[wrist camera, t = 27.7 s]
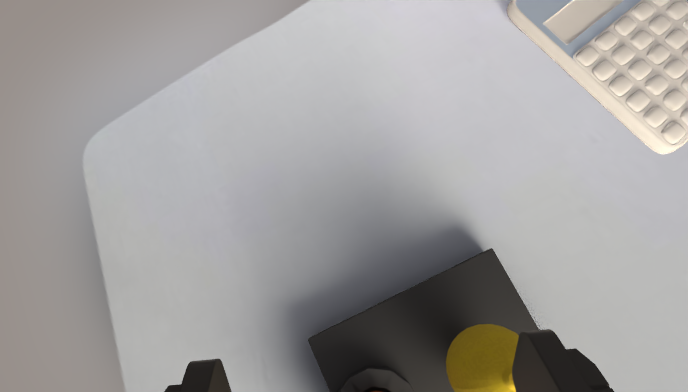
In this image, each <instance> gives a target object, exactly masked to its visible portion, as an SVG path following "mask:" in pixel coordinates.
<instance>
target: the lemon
mask: <svg viewBox="0 0 688 392" xmlns="http://www.w3.org/2000/svg"><path fill="white" fill-rule="evenodd" d="M518 338H519V335H518V334H517V333H515V332H513V331H511V330H509V329H507V328H505V327H503V326H498V325H493V324H478V325H475V326H472V327H469V328H467V329H465V330H464V331H462V332H461V333H459V334H458V335H457V336H456V338H455V339H454V340H453V341H452V343H451V345H450V347H449V349H448V352H447V358H446V371H447V375H448V378H449V382H450V384H451V386H452V388H453V390H454V392H516V389H515V386H514V382H513V377H512V366H513V361H514V357H515V352H516V347H517V342H518Z"/></svg>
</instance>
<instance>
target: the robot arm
mask: <svg viewBox="0 0 688 392" xmlns="http://www.w3.org/2000/svg"><path fill="white" fill-rule="evenodd" d="M512 377H513V382H514V386H515V389H516V392H614V391H613V389H612V388H611V389H610V387H609V384H608V382H607V381H606V379H605V378H604V377H603V375H602V374H601V372H600V371H599V369H598V368H597V366H596V365H595V364H594V363H593V362H591V361H590V360H589V359H588V358H587V357H585V356H584V355H583V354H582V353H581V352H579V351H578V350H577V349H565V347H564V346H563V344H562V343H561V341H560V340H559V338H558V337H557V335H556V334H555V333H554V332H553V331H552V330H550V329H547V330H536V331H525V332H521V333H520V334H519V338H518V342H517V347H516V352H515V357H514V361H513V366H512ZM164 392H231V389H230V386H229V383H228V380H227V376H226V373H225V370H224V367H223V364H222V361H221V360H220V359H212V360H201V361H192V362H190V363H189V364H188V366H187V369H186V372H185V375H184V378H183V381H182V384H181V385H170V386H168V387H167V389H166V390H165V391H164Z"/></svg>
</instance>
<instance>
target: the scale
mask: <svg viewBox="0 0 688 392" xmlns="http://www.w3.org/2000/svg"><path fill="white" fill-rule="evenodd" d="M478 324H493V325H498V326H503V327H505V328H507V329H509V330H511V331H513V332H515V333H517V334H518V335H519V334H520V333H521V332H525V331H536V330H539V329H538V327H537V326H536V324H535V322H534V320H533V319H532V317H531V315H530V313H529V312H528V310H527V308H526V306H525V305H524V303H523V301H522V299H521V298H520V296H519V294H518V292H517V291H516V289H515V287H514V285H513V284H512V282H511V280H510V278H509V277H508V275H507V273H506V271H505V270H504V268H503V266H502V265H501V263H500V261H499V259H498V258H497V256H496V254H495V252H494V251H493V249H492V248H491V249H489V250H486V251H484V252H482V253H480V254H478V255H476V256H474V257H472V258H470V259H468V260H466V261H464V262H462V263H460V264H458V265H456V266H454V267H452V268H450V269H448V270H446V271H444V272H442V273H440V274H438V275H436V276H434V277H432V278H430V279H428V280H426V281H423V282H421V283H419V284H417V285H415V286H413V287H411V288H409V289H407V290H405V291H403V292H401V293H399V294H397V295H395V296H393V297H391V298H389V299H387V300H385V301H383V302H381V303H379V304H377V305H375V306H373V307H371V308H369V309H367V310H365V311H363V312H361V313H359V314H357V315H355V316H353V317H351V318H349V319H347V320H345V321H343V322H341V323H339V324H336V325H334V326H332V327H330V328H328V329H326V330H324V331H322V332H320V333H318V334H316V335H314V336H312V337H310V338H309V339H308V341H309V343H310V346H311V348H312V351H313V353H314V355H315V358H316V360H317V362H318V365H319V367H320V369H321V372H322V374H323V376H324V379H325V381H326V383H327V386H328V388H329V391H330V392H372V391H382V392H454V390H453V388H452V386H451V384H450V382H449V378H448V375H447V371H446V358H447V352H448V349H449V347H450V345H451V343H452V341H453V340H454V339H455V338H456V336H457V335H458V334H459V333H461V332H462V331H464V330H465V329H467V328H469V327H472V326H475V325H478Z"/></svg>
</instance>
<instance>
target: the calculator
mask: <svg viewBox="0 0 688 392" xmlns="http://www.w3.org/2000/svg"><path fill="white" fill-rule="evenodd" d="M507 14H508V17H509V18H510V19H511V21H512V22H513V23H514V24H515V25H516V26H517V27H518V28H519V29H520V30H521V31H523V32H524V33H525V34H526V35H527V36H528V37H529V38H530V39H531V40H532V41H533V42H534V43H536V44H537V45H538V46H539V47H540V48H541V49H542V50H543V51H544V52H545V53H546V54H548V55H549V56H550V57H551V58H552V59H553V60H554V61H555V62H556V63H557V64H558V65H559V66H561V67H562V68H563V69H564V70H565V71H566V72H567V73H568V74H569V75H570V76H571V77H573V78H574V79H575V80H576V81H577V82H578V83H579V84H580V85H581V86H582V87H583V88H584V89H586V90H587V91H588V92H589V93H590V94H591V95H592V96H593V97H594V98H595V99H596V100H598V101H599V102H600V103H601V104H602V105H603V106H604V107H605V108H606V109H607V110H608V111H609V112H611V113H612V114H613V115H614V116H615V117H616V118H617V119H618V120H619V121H620V122H621V123H622V124H624V125H625V126H626V127H627V128H628V129H629V130H630V131H631V132H632V133H633V134H634V135H636V136H637V137H638V138H639V139H640V140H641V141H642V142H643V143H644V144H646V145H647V146H648V147H649V148H650V149H652V150H653V151H655V152H656V153H659V154H667V153H671V152H673V151H675V150H677V149H678V148H680V147H681V146H682V145H684V144H685V143H686V142H687V141H688V2H687V1H685V0H511V1H510V2H509V4H508V8H507Z"/></svg>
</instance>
